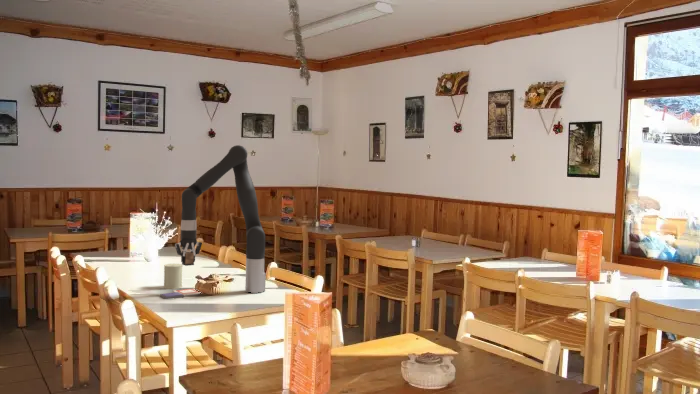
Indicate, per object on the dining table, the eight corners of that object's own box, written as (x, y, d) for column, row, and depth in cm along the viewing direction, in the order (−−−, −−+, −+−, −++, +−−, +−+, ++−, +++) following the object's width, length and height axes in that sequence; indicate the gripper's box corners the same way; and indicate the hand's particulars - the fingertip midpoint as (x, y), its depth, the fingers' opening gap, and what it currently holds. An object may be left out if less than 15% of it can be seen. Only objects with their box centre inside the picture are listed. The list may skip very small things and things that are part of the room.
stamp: (190, 263, 308) (190, 251, 307) (194, 265, 304) (194, 253, 304) (181, 264, 305) (182, 252, 305) (185, 265, 302) (185, 253, 301)
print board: (193, 289, 313) (193, 288, 313) (202, 293, 305) (202, 291, 305) (172, 291, 306) (172, 290, 306) (180, 295, 298) (181, 294, 298)
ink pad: (178, 294, 301) (178, 291, 301) (183, 297, 295) (183, 294, 295) (160, 296, 295) (160, 293, 295) (165, 299, 290) (165, 296, 290)
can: (163, 289, 312) (163, 265, 311) (163, 285, 321) (164, 262, 320) (182, 288, 314) (182, 265, 314) (182, 285, 323) (182, 262, 322)
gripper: (177, 230, 296) (177, 265, 297) (205, 229, 305) (204, 263, 306) (171, 228, 302) (171, 263, 303) (198, 227, 311) (198, 261, 312)
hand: (188, 263), depth 305 cm, fingers closed on stamp, 4 cm apart
